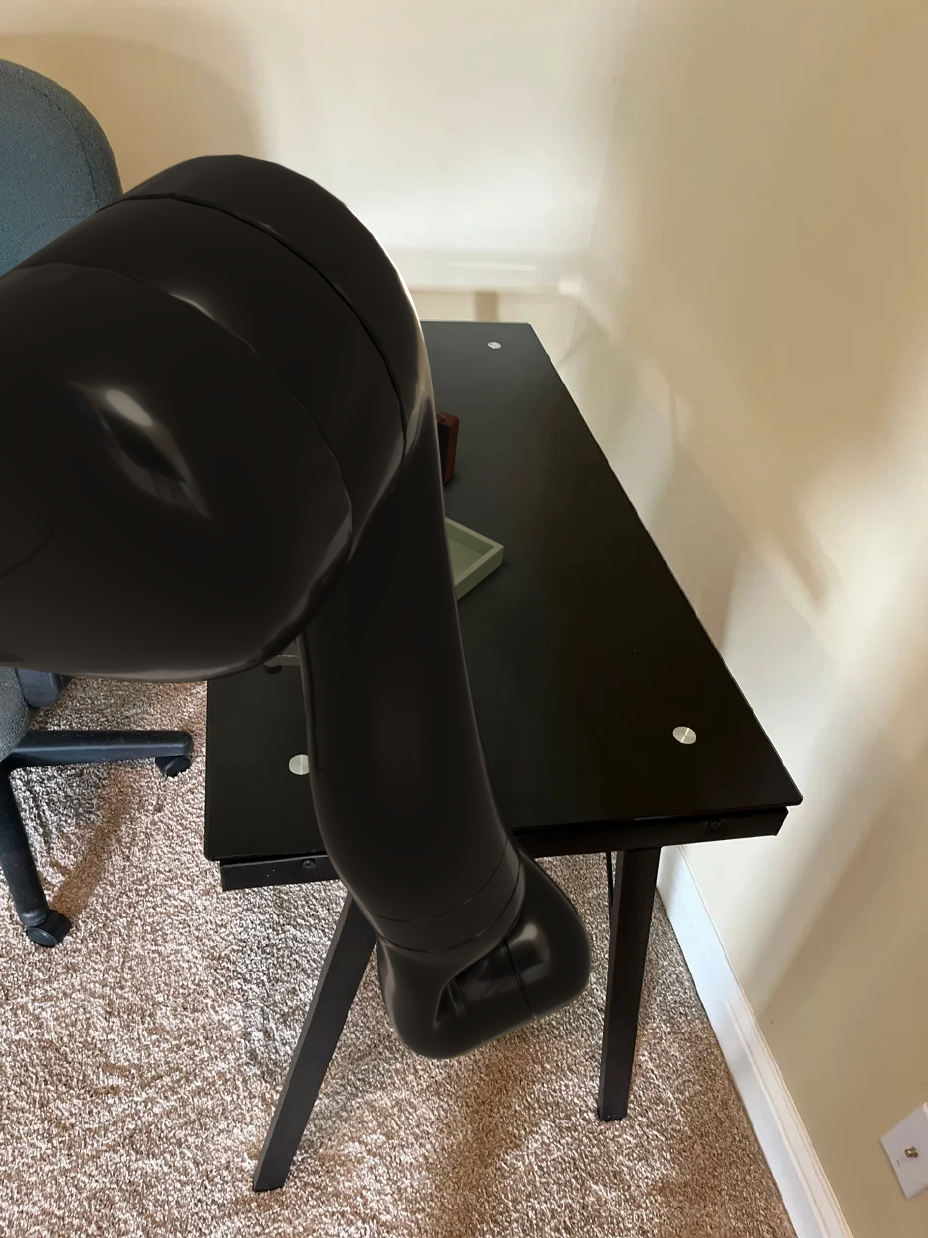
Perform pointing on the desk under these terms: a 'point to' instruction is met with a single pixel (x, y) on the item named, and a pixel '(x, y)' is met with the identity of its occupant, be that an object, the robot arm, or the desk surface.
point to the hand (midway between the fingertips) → (329, 558)
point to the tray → (471, 556)
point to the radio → (447, 443)
